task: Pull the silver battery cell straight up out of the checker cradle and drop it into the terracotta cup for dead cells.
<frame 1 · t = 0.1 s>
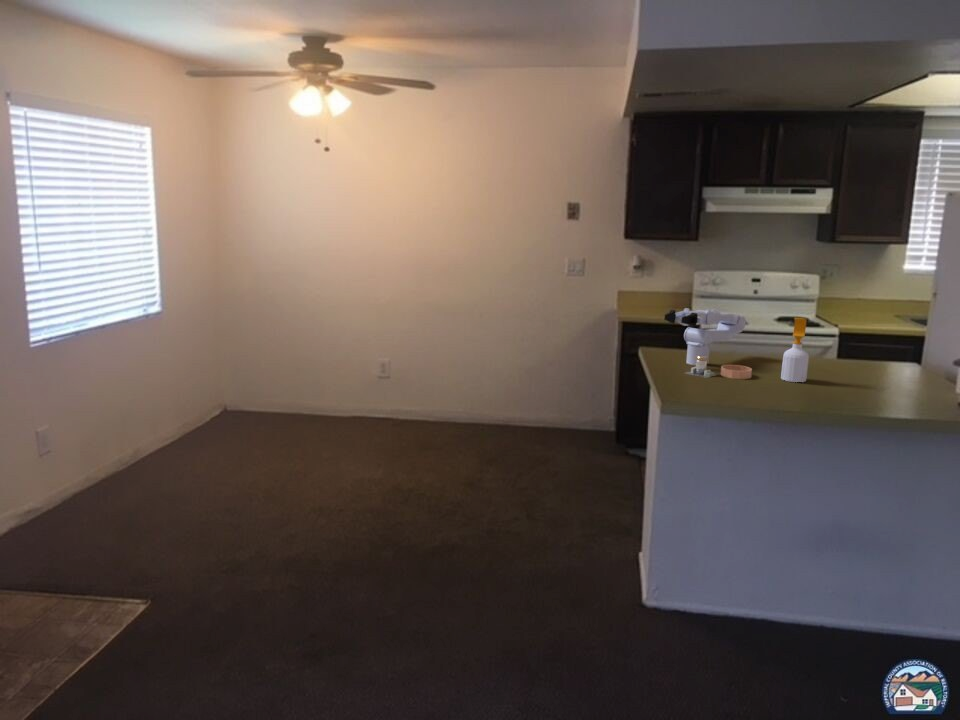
hand: (673, 318, 285), 22 cm above the countertop, tool horizontal, fingers open, 7 cm apart
battery cell: (700, 373, 283), point 1 cm above the countertop, touching checker cradle
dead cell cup: (735, 377, 282), on the countertop
checker cradle: (700, 376, 283), on the countertop
soap bottle: (793, 380, 280), on the countertop
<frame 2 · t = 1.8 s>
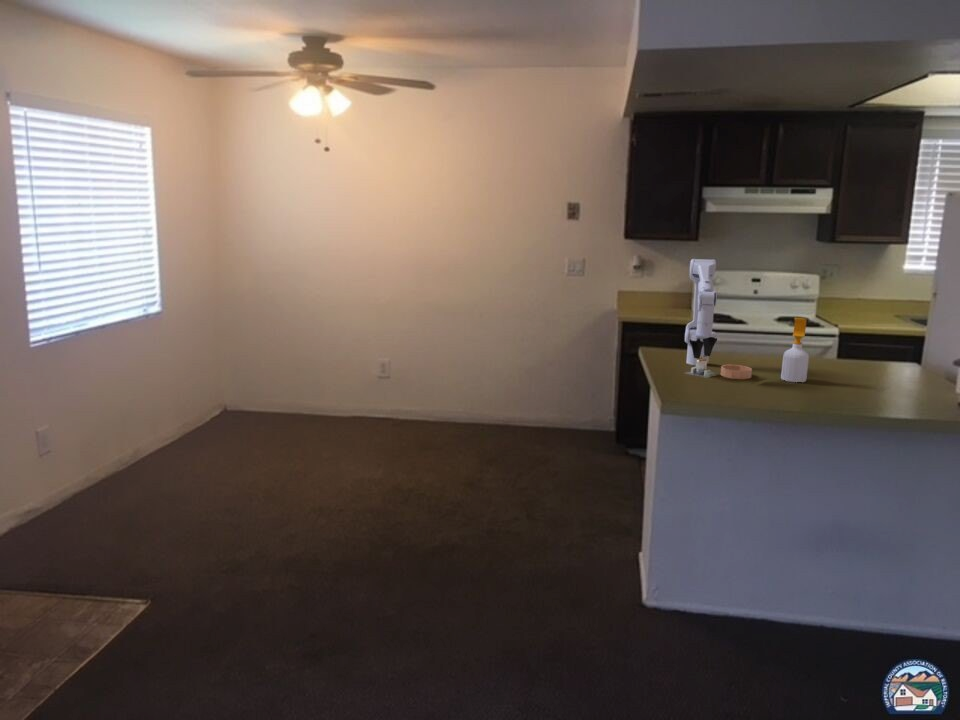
hand: (701, 357, 281), 8 cm above the countertop, tool pointing down, fingers open, 7 cm apart
nothing on the countertop moved.
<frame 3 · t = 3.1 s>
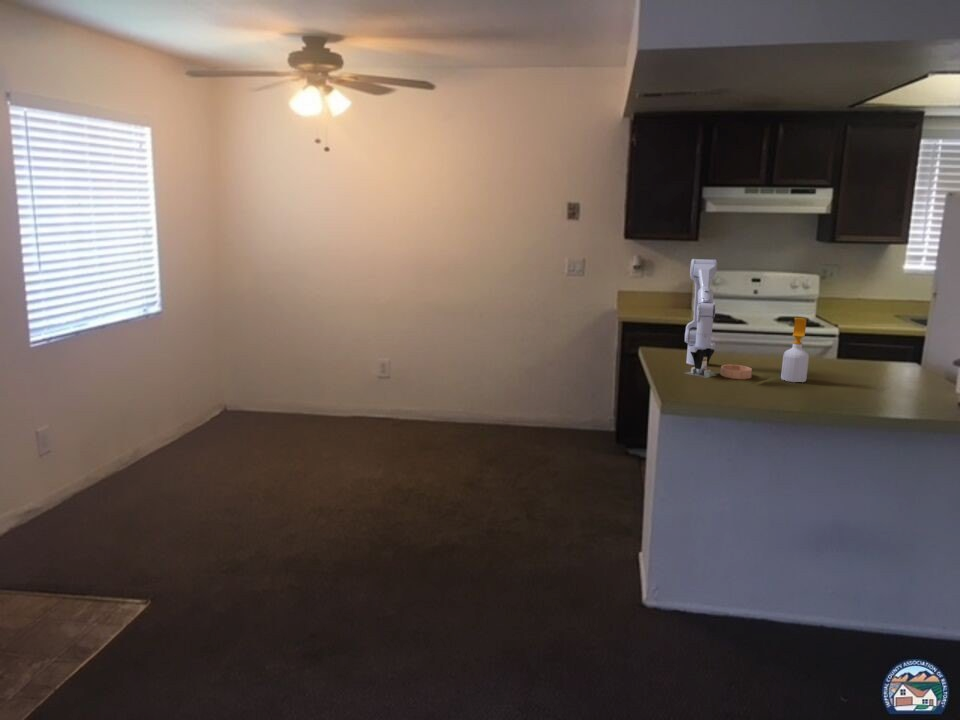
hand: (700, 367, 282), 3 cm above the countertop, tool pointing down, fingers closed on battery cell, 4 cm apart
battery cell: (700, 373, 283), point 1 cm above the countertop, touching checker cradle, gripper
everything else where it was.
when the fingers open (5 cm above the countertop, at t = 7.0 s): battery cell drops 2 cm, resting on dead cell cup.
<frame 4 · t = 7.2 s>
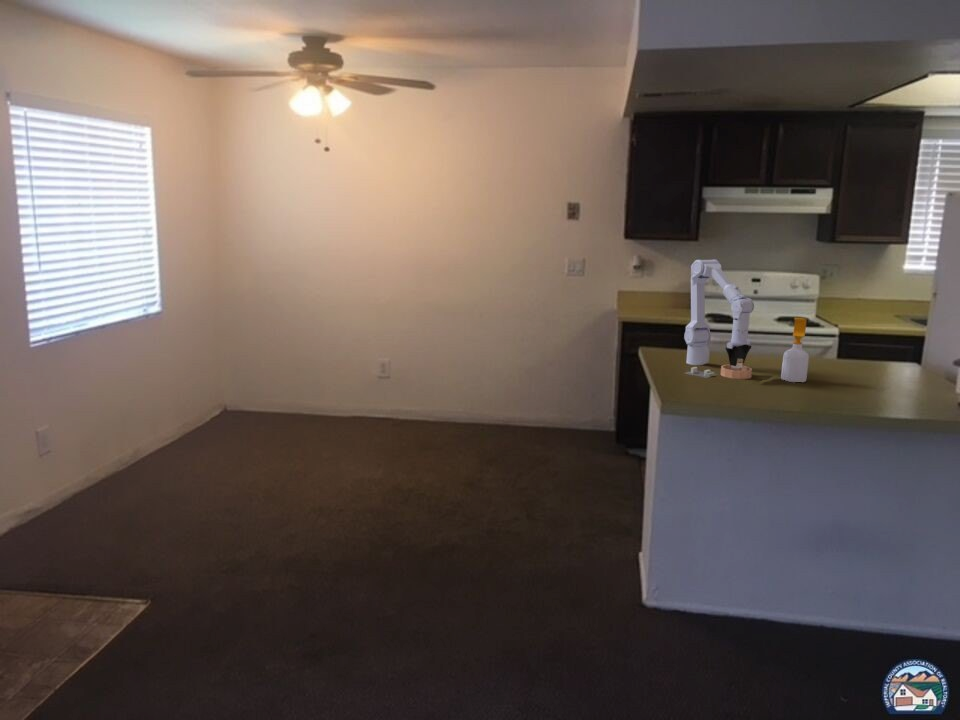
hand: (736, 364, 281), 5 cm above the countertop, tool pointing down, fingers open, 6 cm apart
battery cell: (735, 376, 282), point 1 cm above the countertop, touching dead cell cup
everything else where it was.
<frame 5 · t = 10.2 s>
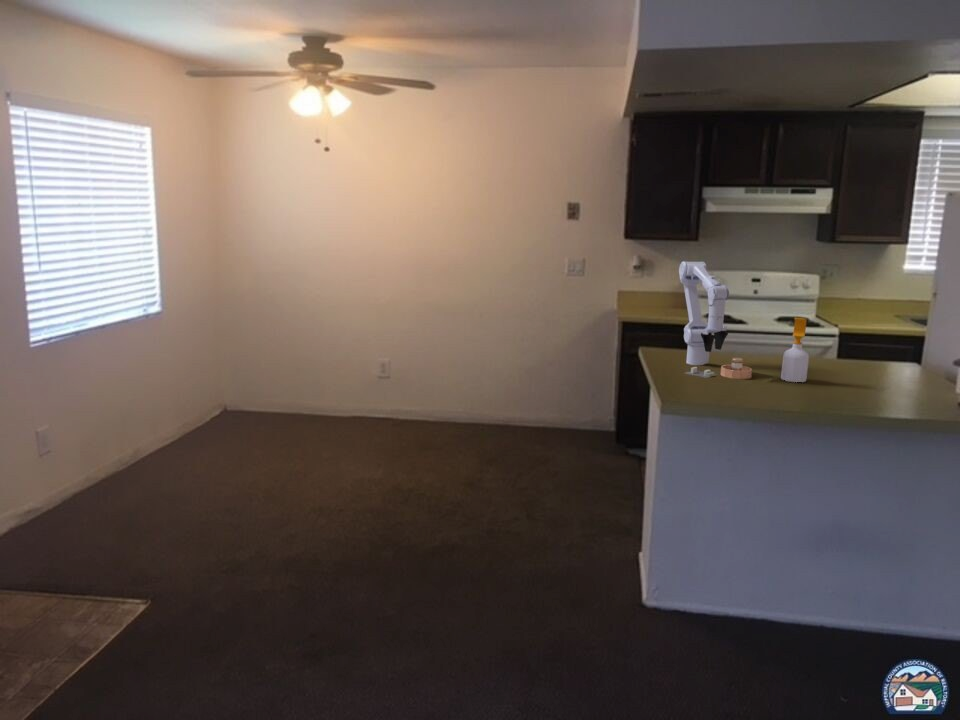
hand: (713, 350, 286), 9 cm above the countertop, tool pointing down, fingers open, 7 cm apart
nothing on the countertop moved.
at the end: battery cell inside the target area on the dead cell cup (0.1 cm from its centre), point 0.6 cm above the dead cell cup's base; the gripper is holding nothing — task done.
